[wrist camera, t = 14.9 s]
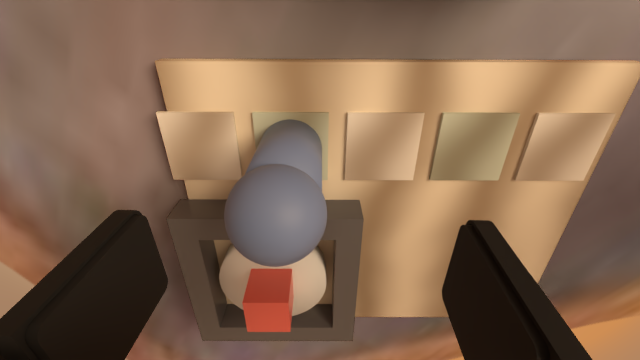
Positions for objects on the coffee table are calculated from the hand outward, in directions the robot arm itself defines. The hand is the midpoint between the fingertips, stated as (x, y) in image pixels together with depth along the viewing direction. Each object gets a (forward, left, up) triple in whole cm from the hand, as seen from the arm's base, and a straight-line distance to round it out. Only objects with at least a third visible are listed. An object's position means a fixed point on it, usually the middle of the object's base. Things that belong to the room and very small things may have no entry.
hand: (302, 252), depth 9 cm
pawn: (+1, 0, -9) cm, 9 cm away
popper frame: (+2, +9, -9) cm, 13 cm away
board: (-5, +5, -10) cm, 12 cm away
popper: (+2, +9, -10) cm, 14 cm away
